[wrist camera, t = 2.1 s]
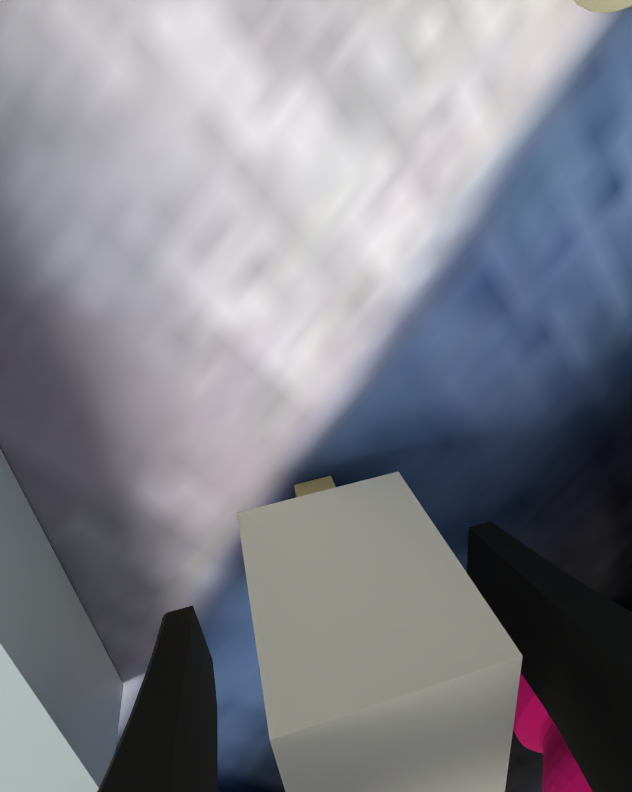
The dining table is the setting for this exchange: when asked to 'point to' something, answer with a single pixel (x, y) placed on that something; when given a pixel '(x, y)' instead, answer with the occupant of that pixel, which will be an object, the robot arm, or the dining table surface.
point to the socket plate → (48, 665)
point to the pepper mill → (546, 743)
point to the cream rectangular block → (375, 645)
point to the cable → (604, 5)
